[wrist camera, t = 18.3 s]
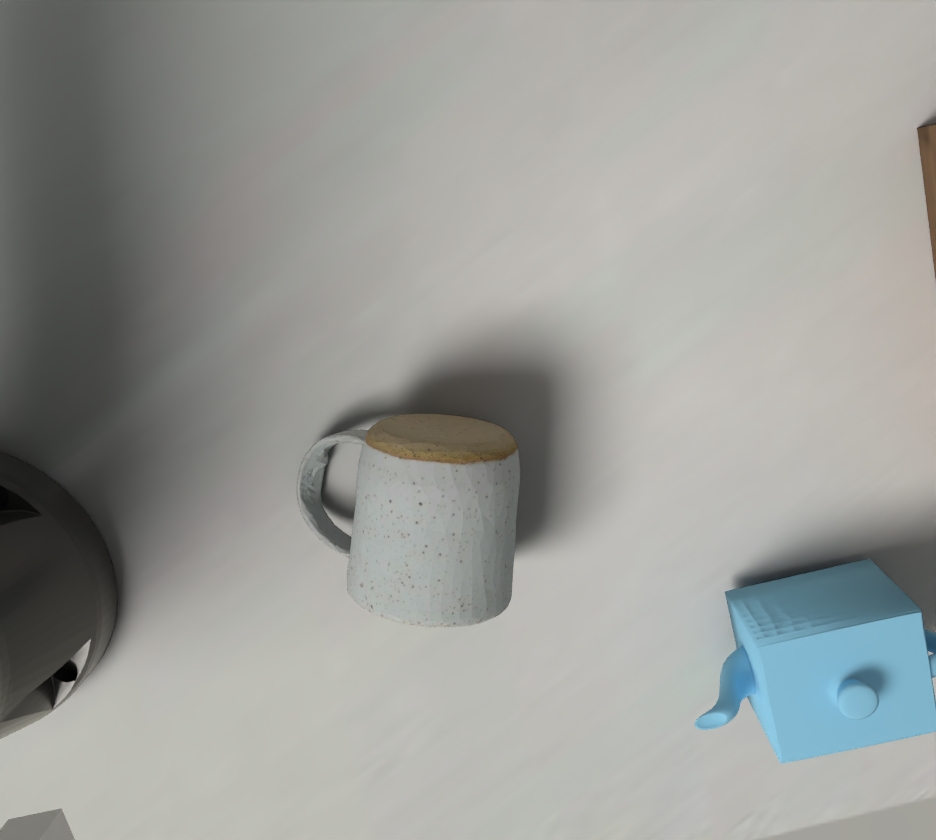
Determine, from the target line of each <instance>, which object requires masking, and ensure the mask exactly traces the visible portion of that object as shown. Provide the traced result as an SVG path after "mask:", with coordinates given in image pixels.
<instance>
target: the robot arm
mask: <svg viewBox="0 0 936 840" xmlns="http://www.w3.org/2000/svg"><path fill="white" fill-rule="evenodd" d="M116 609H117V590H116V581H115V575H114V571H113V567H112V563H111V560H110V557H109V554H108V551H107V549H106V547H105V544H104V542H103V540H102V538H101V536H100V534H99V532H98V531H97V529H96V527H95V526H94V524H93V522H92V521H91V519H90V518H89V517H88V515H87V514H86V513H85V511H84V510H83V509H82V508H81V506H80V505H79V504H78V503H77V502H76V501H75V500H74V499H73V497H72V496H71V495H69V494H68V493H67V492H66V491H65V490H64V489H63V488H62V487H61V486H60V485H58V484H57V483H56V482H55V481H53V480H52V479H51V478H49V477H48V476H47V475H45V474H44V473H42V472H40V471H39V470H37V469H36V468H34V467H32V466H30V465H29V464H27V463H25V462H23V461H21V460H18V459H16V458H14V457H12V456H9V455H6V454H4V453H1V452H0V739H1V738H3V737H5V736H7V735H9V734H11V733H14V732H16V731H18V730H20V729H22V728H24V727H26V726H28V725H30V724H32V723H34V722H36V721H38V720H40V719H41V718H43V717H44V716H46V715H48V714H49V713H50V712H52V711H53V710H54V709H56V708H57V707H58V706H60V705H61V704H62V703H63V702H64V701H65V700H67V699H68V698H69V697H70V696H71V695H72V693H73V692H74V691H75V690H76V689H77V688H78V687H79V685H80V684H81V683H82V682H83V681H84V680H85V678H86V677H87V676H88V675H89V674H90V672H91V671H92V670H93V669H94V667H95V666H96V665H97V663H98V662H99V660H100V659H101V657H102V655H103V653H104V652H105V650H106V648H107V645H108V643H109V641H110V638H111V635H112V632H113V628H114V623H115V618H116ZM0 840H75V839H74V837H73V834H72V832H71V830H70V827H69V825H68V823H67V820H66V818H65V815H64V813H63V811H62V809H57V810H52V811H47V812H42V813H37V814H33V815H28V816H23V817H18V818H13V819H8V821H7V822H6V823H5V825H4V826H3V827H2V828H1V830H0Z"/></svg>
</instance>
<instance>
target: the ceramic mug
mask: <svg viewBox="0 0 936 840" xmlns="http://www.w3.org/2000/svg"><path fill="white" fill-rule="evenodd" d="M337 443H355V444H362V445H363V447H362V451H361V455H360V460H359V467H358V477H357V494H356V505H355V514H354V521H353V529H352V537H350V536H349V535H347V534H346V533H344V532H343V531H342V530H340V529H339V528H338V527H337V526H336V525H334V523H333V522H332V520H331V519H330V518H329V517H328V515H327V513H326V512H325V510H324V508H323V505H322V499H321V487H322V481H323V474H324V469H325V466H326V464H327V463H328V451H329V450H330V449H331V447H332V446H334V445H335V444H337ZM519 486H520V463H519V452H518V447H517V443H516V441H515V439H514V438H513V437H512V435H511V434H510V433H509V432H508V431H507V430H506V429H504V428H502V427H500V426H498V425H496V424H493V423H490V422H487V421H483V420H479V419H475V418H468V417H462V416H455V415H443V414H407V415H398V416H392V417H389V418H386V419H383V420H381V421H379V422H377V423H376V424H375V425H373V426H372V427H371V428H370V429H369V430H349V431H343V432H339V433H336V434H332V435H329V436H327V437H325V438H323V439H321V440H320V441H318V442H317V443H316V444H314V445H313V446H312V447H311V449H310V450H309V451H308V452H307V453H306V454H305V457H304V459H303V461H302V463H301V466H300V469H299V473H298V481H297V499H298V504H299V508H300V511H301V514H302V516H303V518H304V520H305V521H306V523H307V525H308V526H309V528H310V529H311V530H312V531H313V532H314V534H315V535H316V536H317V537H318V538H319V539H320V540H321V541H323V542H324V543H325V544H326V545H327V546H329V547H330V548H332V549H334V550H335V551H337V552H339V553H340V554H343V555H345V556H346V557H349V564H348V571H347V590H348V593H349V594H350V596H351V597H352V599H353V600H354V601H355V602H356V603H357V604H358V605H360V606H361V607H362V608H364V609H366V610H368V611H369V612H371V613H373V614H376V615H378V616H381V617H383V618H386V619H389V620H393V621H396V622H399V623H404V624H411V625H416V626H424V627H460V626H470V625H474V624H479V623H482V622H484V621H487V620H489V619H491V618H493V617H496V616H497V615H499V614H500V613H502V612H503V611H504V610H505V609H506V608H507V606H508V604H509V602H510V600H511V595H512V580H513V563H514V551H515V539H516V517H517V506H518V496H519Z"/></svg>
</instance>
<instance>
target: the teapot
mask: <svg viewBox="0 0 936 840" xmlns="http://www.w3.org/2000/svg"><path fill="white" fill-rule="evenodd" d="M725 594H726V599H727V604H728V609H729V613H730V618H731V622H732V627H733V632H734V637H735V641H736V646H737V650H735V651H734V652H733V653H732V654H731V655H730V656H729V657H728V658H727V659H726V661H725V662H724V664H723V667H722V671H721V676H720V692H719V699H718V701H717V703H716V705H715V706H714V707H713V708H712V709H711V710H709V711H708V712H706V713H705V714H703V715H702V716H700V717H699V718H698V719H697V720H696V722H695V726H696V728H698V729H702V730H707V729H714V728H718V727H720V726H723V725H725V724H727V723H728V722H730V721H731V720H732V719H733V718H734V717H735V716H736V714H737V713H738V710H739V706H740V702H741V701H742V700H743V699H744V698H745V697H748V699H749V701H750V703H751V705H752V707H753V709H754V711H755V713H756V715H757V717H758V719H759V721H760V723H761V725H762V727H763V729H764V731H765V733H766V735H767V737H768V739H769V741H770V743H771V745H772V747H773V749H774V751H775V753H776V755H777V757H778V759H779V761H780V763H787V762H792V761H797V760H803V759H808V758H813V757H818V756H823V755H827V754H832V753H837V752H842V751H847V750H852V749H857V748H862V747H866V746H871V745H876V744H881V743H885V742H890V741H895V740H899V739H904V738H909V737H913V736H918V735H922V734H927V733H931V732H935V731H936V702H935V695H934V689H933V682H932V678H933V677H936V633H934V632H931V631H928V630H924V624H923V618H922V611H921V609H920V608H919V607H918V606H917V605H916V604H915V603H914V602H913V601H912V600H911V599H910V598H909V597H908V596H907V595H906V594H905V593H904V592H903V591H902V590H901V589H900V588H899V587H898V586H897V585H896V584H895V583H894V582H893V581H892V580H891V579H890V578H889V577H888V576H887V575H886V574H885V573H884V572H883V571H882V570H881V569H880V568H879V567H878V566H877V565H876V564H875V563H873V562H872V561H871V560H870V559H866V560H861V561H857V562H852V563H848V564H844V565H839V566H835V567H830V568H826V569H821V570H817V571H813V572H808V573H804V574H799V575H795V576H791V577H786V578H782V579H777V580H773V581H769V582H764V583H760V584H756V585H751V586H747V587H743V588H738V589H734V590H730V591H725ZM928 651H930V652H932V653H934V654H932V655H929V656H928Z"/></svg>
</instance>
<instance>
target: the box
mask: <svg viewBox="0 0 936 840" xmlns="http://www.w3.org/2000/svg"><path fill="white" fill-rule="evenodd" d="M917 130H918V138H919V146H920V154H921V163H922V171H923V179H924V187H925V195H926V204H927V212H928V220H929V228H930V236H931V245H932V253H933V261H934V269H935V277H936V123H935V124H931V125H927V126H924V127H920V128H917Z"/></svg>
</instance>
